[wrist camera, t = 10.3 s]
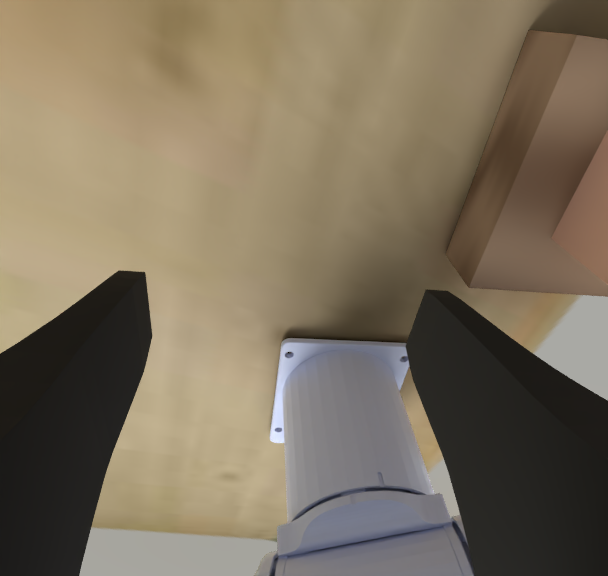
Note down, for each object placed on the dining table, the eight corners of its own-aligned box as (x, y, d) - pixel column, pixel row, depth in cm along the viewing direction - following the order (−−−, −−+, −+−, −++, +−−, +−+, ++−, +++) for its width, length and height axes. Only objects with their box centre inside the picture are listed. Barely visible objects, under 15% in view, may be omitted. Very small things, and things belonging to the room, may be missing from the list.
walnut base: (615, 267, 23) (657, 299, 20) (445, 254, 21) (468, 287, 19) (748, 64, 17) (829, 74, 15) (528, 30, 16) (577, 34, 13)
